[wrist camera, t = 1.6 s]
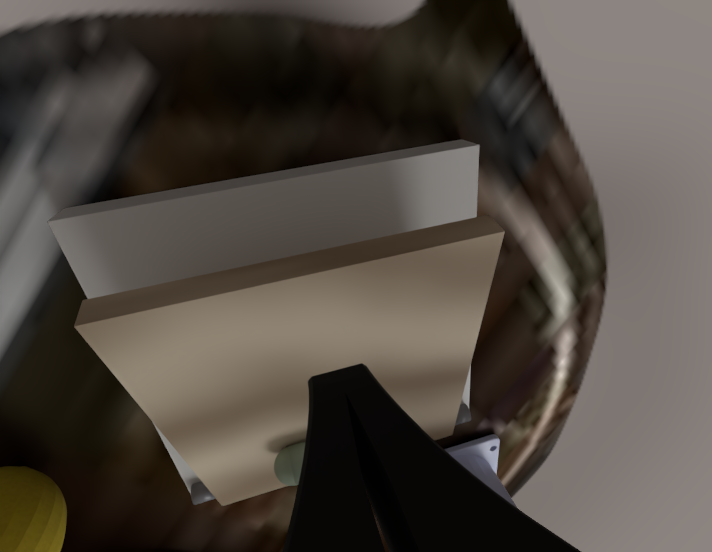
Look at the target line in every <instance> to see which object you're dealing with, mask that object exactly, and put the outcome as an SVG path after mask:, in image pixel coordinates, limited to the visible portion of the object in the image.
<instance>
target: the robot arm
mask: <svg viewBox="0 0 712 552" xmlns="http://www.w3.org/2000/svg"><path fill="white" fill-rule="evenodd" d="M308 388H309V413H308V425H307V434H306V441H305V449H304V456H303V463H302V468H301V473H300V478H299V483H298V488H297V494H296V499H295V504H294V508H293V512H292V516H291V521H290V525H289V529H288V533H287V537H286V541H285V544H284V548H283V552H385V550H384V547H383V544H382V541H381V537H380V534H379V531H378V528H377V525H376V522H375V519H374V515H373V512H372V509H371V506H370V503H369V500H368V497H367V494H368V496H369V499H370V501H371V504H372V507H373V509H374V512H375V515H376V517H377V520H378V522H379V525H380V528H381V530H382V533H383V535H384V538H385V541H386V543H387V546H388V549H389V551H390V552H580V551H579V550H578V549H576V548H575V547H573V546H572V545H570V544H569V543H567V542H566V541H564V540H563V539H561V538H560V537H558V536H557V535H555V534H554V533H552V532H551V531H549V530H548V529H546V528H545V527H543V526H542V525H540V524H539V523H538V522H536V521H534V520H533V519H532V518H530V517H529V516H527V515H526V514H524V513H523V512H522V511H520V510H519V509H518V508H517V507H516V505H515V504H514V502H513V500H512V499H511V497H510V496H509V494H508V492H507V491H506V489H505V488H504V486H503V485H502V483H501V481H500V480H499V478H498V477H497V475H496V474H497V464H498V454H499V444H500V440H499V438H498V437H497V436H496V435H494V434H493V435H489V436H485V437H482V438H479V439H476V440H473V441H469V442H466V443H463V444H460V445H457V446H454V447H450V448H447V449H443V448H442V447H441V446H440V445H439V444H438V443H436V442H435V441H434V440H433V439H432V438H431V437H430V436H429V435H428V434H427V433H426V432H425V431H424V430H423V429H422V428H421V427H420V426H419V425H418V424H417V423H416V422H415V421H414V420H413V419H412V418H411V417H410V416H409V415H408V414H407V413H406V412H405V411H404V410H403V409H402V408H401V407H400V406H399V405H398V404H397V403H396V402H395V400H394V399H393V398H392V397H391V396H390V395H389V394H388V393H387V391H386V390H385V389H384V388H383V387H382V386H381V384H380V383H379V382H378V381H377V379H376V378H375V377H374V376H373V374H372V373H371V372H370V370H369V369H368V367H367V366H366V365H364V364H362V363H361V364H357V365H353V366H349V367H346V368H342V369H338V370H334V371H331V372H327V373H323V374H319V375H315V376H312V377H311V378H310V379H309V380H308ZM365 488H366V489H365ZM366 491H367V493H366Z"/></svg>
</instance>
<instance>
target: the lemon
mask: <svg viewBox="0 0 712 552" xmlns="http://www.w3.org/2000/svg"><path fill="white" fill-rule="evenodd" d="M66 519H67V509H66V503H65V500H64V497H63V495H62V492H61V490H60V488H59V487H58V486H57V485H56V483H55V482H54V481H53V480H52V479H51V478H50V477H48V476H47V475H45V474H44V473H42V472H39V471H37V470H34V469H31V468H29V467H27V466H21V467H17V466H5V467H0V552H60V551H61V548H62V545H63V541H64V536H65V531H66Z"/></svg>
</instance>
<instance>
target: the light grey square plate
mask: <svg viewBox="0 0 712 552" xmlns="http://www.w3.org/2000/svg"><path fill="white" fill-rule="evenodd" d="M478 168H479V145H478V144H475V143H472V142H468V141H465V140H462V139H461V140H455V141H449V142H443V143H438V144H432V145H426V146H420V147H415V148H409V149H403V150H397V151H392V152H386V153H380V154H374V155H368V156H363V157H357V158H351V159H345V160H340V161H334V162H328V163H322V164H317V165H311V166H305V167H299V168H294V169H288V170H282V171H276V172H271V173H265V174H259V175H253V176H247V177H242V178H236V179H230V180H224V181H219V182H213V183H207V184H201V185H196V186H190V187H184V188H178V189H173V190H167V191H161V192H155V193H149V194H144V195H138V196H132V197H126V198H121V199H115V200H109V201H103V202H98V203H92V204H86V205H80V206H75V207H69V208H64V209H63V210H61V211H60V212H59V213H58V214H56V215H55V216H54V217H53V218H51V219H50V220H49V221H47V222H48V224H49V226H50V228H51V230H52V232H53V234H54V236H55V237H56V239H57V241H58V243H59V245H60V247H61V249H62V251H63V253H64V255H65V256H66V258H67V260H68V262H69V264H70V266H71V268H72V270H73V272H74V274H75V275H76V277H77V279H78V281H79V283H80V285H81V287H82V289H83V291H84V293H85V294H86V296H87V298H88V299H91V298H96V297H100V296H105V295H110V294H115V293H119V292H124V291H129V290H134V289H138V288H143V287H148V286H153V285H157V284H162V283H167V282H172V281H176V280H181V279H186V278H190V277H195V276H200V275H205V274H209V273H214V272H219V271H224V270H228V269H233V268H238V267H243V266H247V265H252V264H257V263H262V262H266V261H271V260H276V259H281V258H285V257H290V256H295V255H299V254H304V253H309V252H314V251H318V250H323V249H328V248H333V247H337V246H342V245H347V244H352V243H356V242H361V241H366V240H371V239H375V238H380V237H385V236H390V235H394V234H399V233H404V232H408V231H413V230H418V229H423V228H427V227H432V226H437V225H442V224H446V223H451V222H456V221H461V220H465V219H470V218H475V217H477V193H478ZM470 371H471V365H470V369H469V372H468V376H467V380H466V384H465V388H464V392H463V396H462V400H461V404H460V407H459V411H458V415H457V419H456V423H455V425H458V424H461V423H465V422H468V421H471V413H470V410H469V396H470ZM153 424H154V423H153ZM154 426H155V427H156V429H157V431H158V433H159V435H160V437H161V439H162V441H163V443H164V445H165V446H166V448H167V450H168V452H169V454H170V456H171V458H172V460H173V462H174V464H175V466H176V467H177V469H178V471H179V473H180V475H181V477H182V479H183V481H184V483H185V485H186V486H187V488H188V490H189V492H190V494H191V499H192V502H193V504H194V505H196V504H199V503H202V502H206V501H209V500H212V499H215V497H214V496H213V494H212V493H211V492H210V491H209V489H208V488H207V487H206V486H205V485H204V483H203V482H202V481H201V480H200V479H199V477H198V476H197V475H196V474H195V473H194V471H193V470H192V469H191V468H190V466H189V465H188V464H187V463H186V462H185V460H184V459H183V458H182V457H181V456H180V454H179V453H178V452H177V451H176V449H175V448H174V447H173V446H172V445H171V443H170V442H169V441H168V440H167V439H166V437H165V436H164V435H163V434H162V432H161V431H160V430H159V429H158V428H157V426H156V425H155V424H154Z"/></svg>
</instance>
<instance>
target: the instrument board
mask: <svg viewBox="0 0 712 552" xmlns="http://www.w3.org/2000/svg"><path fill="white" fill-rule="evenodd" d="M504 233H505V231H504V230H503V229H502V228H501V227H500V226H499V225H498V224H497V223H496V222H495V221H494V220H493V219H492V217H491V216H490V215H484V216H480V217H475V218H470V219H465V220H461V221H456V222H451V223H446V224H442V225H437V226H432V227H427V228H423V229H418V230H413V231H408V232H404V233H399V234H394V235H390V236H385V237H380V238H375V239H371V240H366V241H361V242H356V243H352V244H347V245H342V246H337V247H333V248H328V249H323V250H318V251H314V252H309V253H304V254H299V255H295V256H290V257H285V258H281V259H276V260H271V261H266V262H262V263H257V264H252V265H247V266H243V267H238V268H233V269H228V270H224V271H219V272H214V273H209V274H205V275H200V276H195V277H190V278H186V279H181V280H176V281H172V282H167V283H162V284H157V285H153V286H148V287H143V288H138V289H134V290H129V291H124V292H119V293H115V294H110V295H105V296H100V297H96V298H91V299H86V300H83V301H82V304H81V307H80V310H79V313H78V316H77V319H76V322H75V325H74V327H75V328H76V329H77V331H78V332H79V333H80V334H81V335H82V337H83V338H84V339H85V340H86V341H87V343H88V344H89V345H90V346H91V348H92V349H93V350H94V351H95V352H96V354H97V355H98V356H99V357H100V358H101V360H102V361H103V362H104V363H105V365H106V366H107V367H108V368H109V369H110V371H111V372H112V373H113V374H114V375H115V377H116V378H117V379H118V380H119V381H120V383H121V384H122V385H123V386H124V388H125V389H126V390H127V391H128V392H129V394H130V395H131V396H132V397H133V398H134V400H135V401H136V402H137V403H138V405H139V406H140V407H141V408H142V409H143V411H144V412H145V413H146V414H147V415H148V417H149V418H150V419H151V420H152V422H153V423H154V424H155V425H156V426H157V428H158V429H159V430H160V431H161V432H162V434H163V435H164V436H165V437H166V439H167V440H168V441H169V442H170V443H171V445H172V446H173V447H174V448H175V449H176V451H177V452H178V453H179V454H180V456H181V457H182V458H183V459H184V460H185V462H186V463H187V464H188V465H189V466H190V468H191V469H192V470H193V471H194V473H195V474H196V475H197V476H198V477H199V479H200V480H201V481H202V482H203V483H204V485H205V486H206V487H207V488H208V489H209V491H210V492H211V493H212V494H213V496H214V497H215V498H216V499H217V500H218V502H219V503H220V504H221V505H222V506H224V505H227V504H230V503H234V502H237V501H240V500H243V499H247V498H250V497H253V496H256V495H260V494H263V493H266V492H269V491H272V490H276V489H279V488H282V487H285V486H294V485H298V483H299V478H300V473H301V468H302V463H303V456H304V449H305V441H306V434H307V425H308V413H309V388H308V380H309V379H310V378H311V377H312V376H315V375H319V374H323V373H327V372H331V371H334V370H338V369H342V368H346V367H349V366H353V365H357V364H361V363H362V364H364V365H366V366H367V367H368V369H369V370H370V372H371V373H372V374H373V376H374V377H375V378H376V379H377V381H378V382H379V383H380V384H381V386H382V387H383V388H384V389H385V390H386V391H387V393H388V394H389V395H390V396H391V397H392V398H393V399H394V400H395V402H396V403H397V404H398V405H399V406H400V407H401V408H402V409H403V410H404V411H405V412H406V413H407V414H408V415H409V416H410V417H411V418H412V419H413V420H414V421H415V422H416V423H417V424H418V425H419V426H420V427H421V428H422V429H423V430H424V431H425V432H426V433H427V434H428V435H429V436H430V437H431V438H432V439H433V440H437V439H441V438H444V437H447V436H450V435H453V431H454V427H455V423H456V419H457V415H458V411H459V407H460V404H461V400H462V396H463V392H464V388H465V384H466V380H467V376H468V372H469V369H470V365H471V361H472V357H473V353H474V349H475V345H476V341H477V338H478V334H479V330H480V326H481V322H482V318H483V314H484V310H485V306H486V303H487V299H488V295H489V291H490V287H491V283H492V279H493V275H494V272H495V268H496V264H497V260H498V256H499V252H500V248H501V244H502V241H503V237H504Z"/></svg>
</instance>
